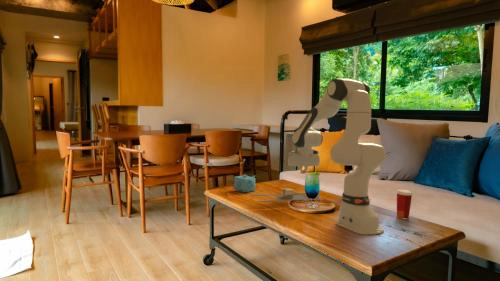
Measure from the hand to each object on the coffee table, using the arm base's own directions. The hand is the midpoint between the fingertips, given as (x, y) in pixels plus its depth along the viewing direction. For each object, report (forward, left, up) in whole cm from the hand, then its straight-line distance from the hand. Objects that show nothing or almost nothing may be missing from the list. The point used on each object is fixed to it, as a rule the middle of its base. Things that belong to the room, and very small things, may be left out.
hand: (303, 173), depth 204 cm
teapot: (+21, +30, -16) cm, 40 cm away
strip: (0, +3, -15) cm, 16 cm away
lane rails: (0, +11, -16) cm, 19 cm away
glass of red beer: (-45, -35, -16) cm, 60 cm away
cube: (0, +9, -15) cm, 17 cm away
